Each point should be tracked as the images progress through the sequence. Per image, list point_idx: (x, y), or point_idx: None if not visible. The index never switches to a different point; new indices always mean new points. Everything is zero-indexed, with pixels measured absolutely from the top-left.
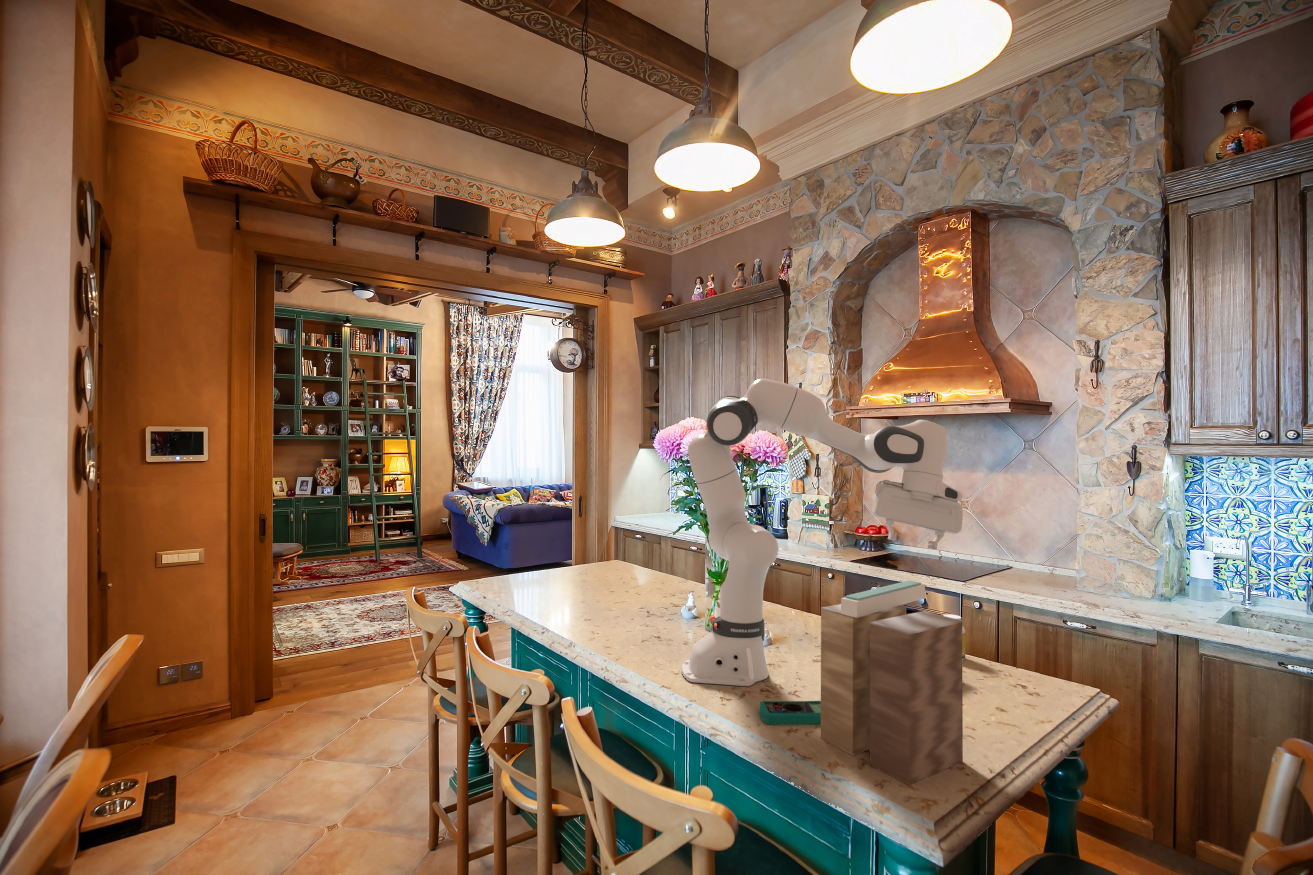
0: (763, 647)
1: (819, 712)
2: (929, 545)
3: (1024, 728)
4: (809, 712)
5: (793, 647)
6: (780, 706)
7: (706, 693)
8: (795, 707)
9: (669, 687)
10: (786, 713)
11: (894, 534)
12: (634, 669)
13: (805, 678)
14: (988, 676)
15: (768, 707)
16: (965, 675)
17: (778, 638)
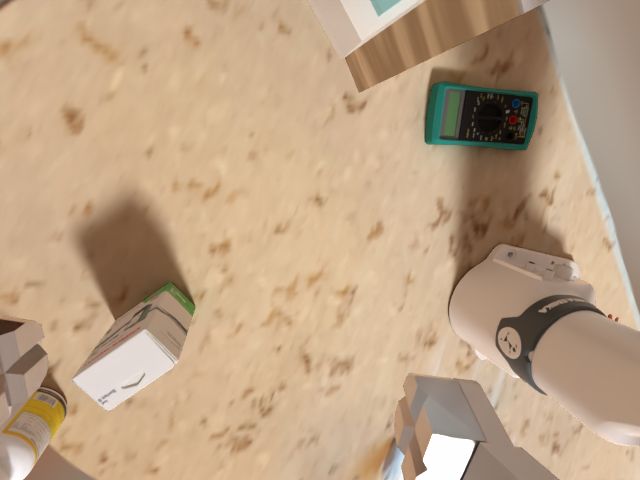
0: (491, 314)
1: (453, 100)
2: (20, 368)
3: (70, 20)
4: (473, 94)
5: (360, 427)
6: (506, 124)
7: (565, 218)
8: (487, 116)
9: (603, 242)
10: (510, 92)
11: (458, 414)
12: (625, 310)
13: (397, 280)
14: (3, 300)
15: (525, 122)
16: (61, 304)
17: (370, 470)
